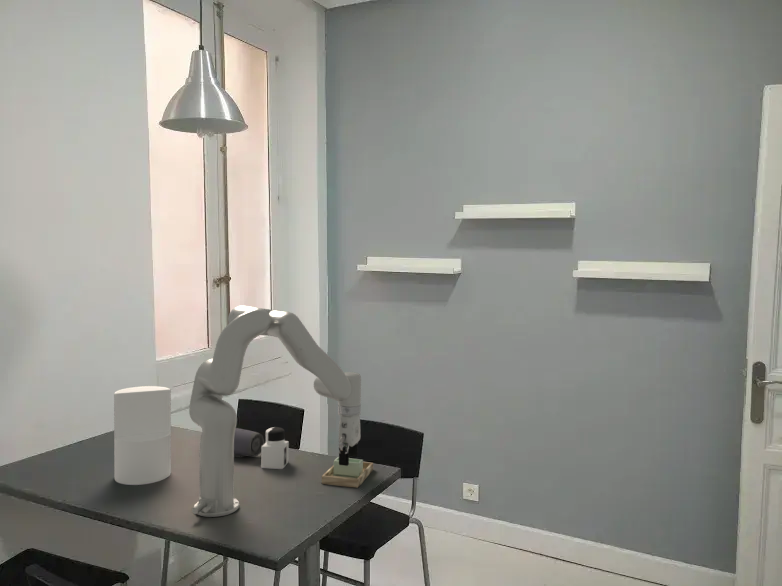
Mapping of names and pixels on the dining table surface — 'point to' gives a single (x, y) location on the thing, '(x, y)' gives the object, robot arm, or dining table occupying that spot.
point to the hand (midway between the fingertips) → (348, 460)
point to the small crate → (348, 468)
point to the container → (275, 449)
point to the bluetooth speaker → (247, 443)
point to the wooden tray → (347, 481)
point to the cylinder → (142, 435)
